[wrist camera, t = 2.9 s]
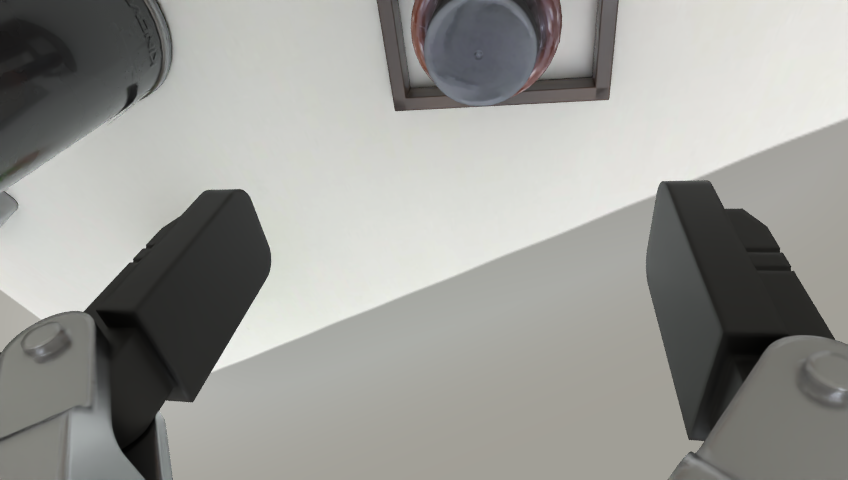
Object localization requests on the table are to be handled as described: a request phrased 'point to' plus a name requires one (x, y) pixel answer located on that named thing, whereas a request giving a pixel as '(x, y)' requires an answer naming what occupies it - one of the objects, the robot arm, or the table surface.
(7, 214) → the power adapter
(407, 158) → the table surface
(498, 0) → the supplement bottle
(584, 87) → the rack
